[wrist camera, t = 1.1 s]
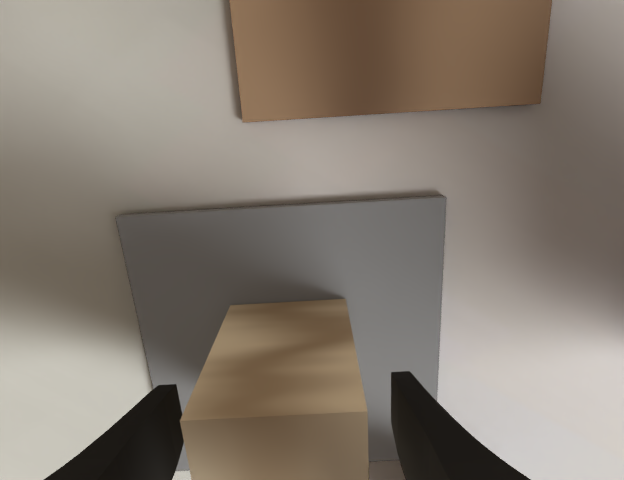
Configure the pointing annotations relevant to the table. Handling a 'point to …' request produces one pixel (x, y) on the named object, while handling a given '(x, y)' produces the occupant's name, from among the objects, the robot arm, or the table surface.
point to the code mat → (294, 285)
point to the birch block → (279, 397)
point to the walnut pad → (386, 55)
